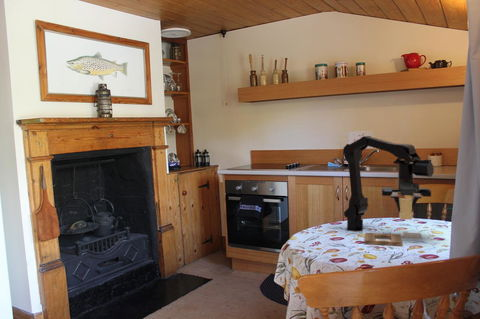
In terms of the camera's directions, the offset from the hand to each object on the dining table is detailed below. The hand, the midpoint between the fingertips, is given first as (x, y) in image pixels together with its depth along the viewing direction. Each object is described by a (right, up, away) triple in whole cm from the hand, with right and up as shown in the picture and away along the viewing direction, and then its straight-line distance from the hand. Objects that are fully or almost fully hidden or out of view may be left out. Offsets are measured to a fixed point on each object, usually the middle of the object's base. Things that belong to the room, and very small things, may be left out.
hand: (405, 212), depth 169 cm
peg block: (0, -3, 0) cm, 2 cm away
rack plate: (-11, -12, -4) cm, 17 cm away
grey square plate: (+4, -11, +2) cm, 12 cm away
